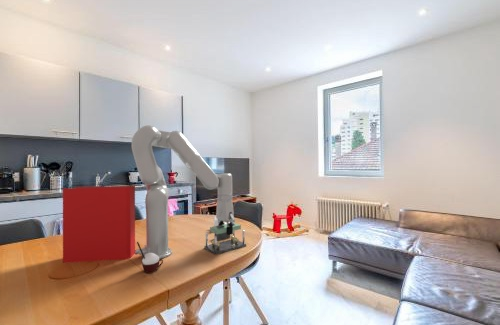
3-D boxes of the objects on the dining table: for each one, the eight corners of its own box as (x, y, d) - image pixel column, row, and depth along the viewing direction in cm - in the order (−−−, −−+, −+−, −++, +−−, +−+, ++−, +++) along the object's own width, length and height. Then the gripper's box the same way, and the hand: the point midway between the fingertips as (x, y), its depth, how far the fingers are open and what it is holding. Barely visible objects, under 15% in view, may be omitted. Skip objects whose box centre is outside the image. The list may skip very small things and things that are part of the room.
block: (218, 240, 127) (218, 233, 127) (214, 238, 130) (214, 231, 130) (230, 237, 132) (230, 230, 132) (226, 236, 135) (226, 229, 135)
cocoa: (163, 267, 95) (164, 237, 96) (160, 273, 89) (161, 242, 90) (138, 268, 93) (140, 238, 94) (133, 275, 87) (135, 242, 88)
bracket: (214, 231, 144) (214, 219, 144) (214, 228, 151) (214, 217, 151) (235, 230, 147) (235, 218, 147) (233, 227, 154) (233, 216, 154)
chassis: (215, 254, 107) (214, 237, 107) (204, 247, 116) (204, 232, 116) (246, 246, 118) (246, 230, 118) (234, 240, 127) (234, 225, 127)
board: (216, 234, 110) (216, 228, 110) (210, 231, 115) (209, 225, 115) (240, 229, 118) (240, 224, 118) (233, 226, 124) (233, 221, 124)
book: (62, 262, 100) (62, 188, 100) (74, 255, 107) (74, 186, 108) (129, 259, 103) (129, 187, 103) (136, 252, 111) (135, 185, 111)
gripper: (210, 196, 122) (210, 230, 121) (227, 200, 108) (228, 238, 108) (222, 195, 126) (223, 227, 126) (241, 198, 112) (241, 235, 112)
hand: (225, 232), depth 117 cm, fingers closed on board, 7 cm apart
